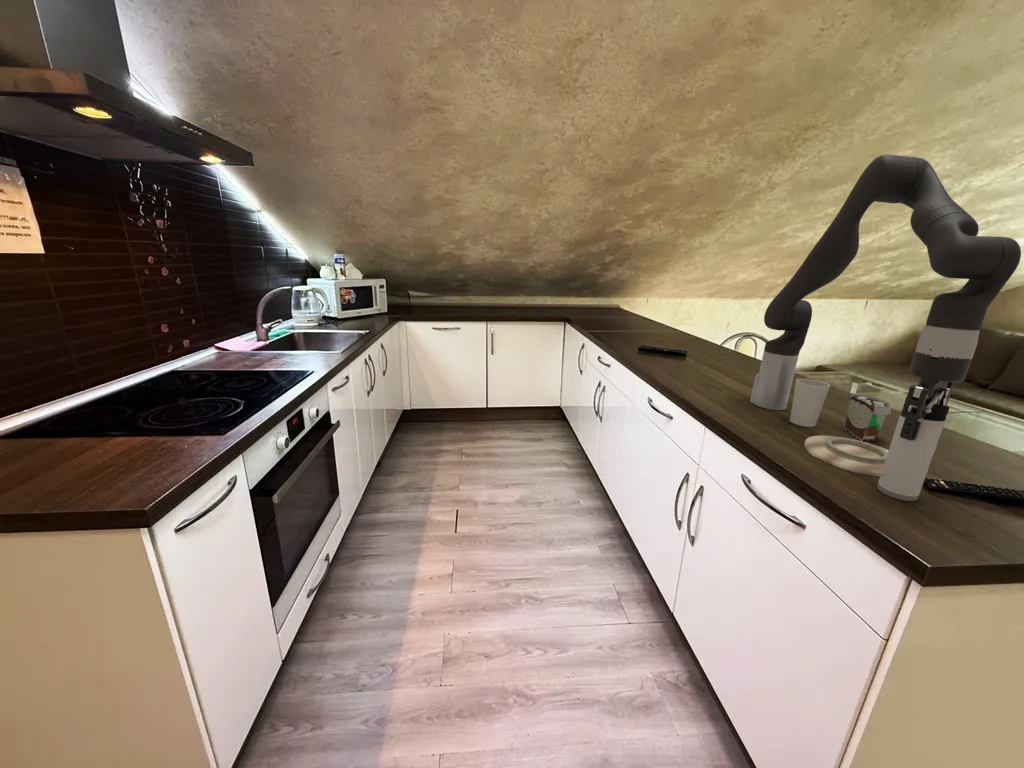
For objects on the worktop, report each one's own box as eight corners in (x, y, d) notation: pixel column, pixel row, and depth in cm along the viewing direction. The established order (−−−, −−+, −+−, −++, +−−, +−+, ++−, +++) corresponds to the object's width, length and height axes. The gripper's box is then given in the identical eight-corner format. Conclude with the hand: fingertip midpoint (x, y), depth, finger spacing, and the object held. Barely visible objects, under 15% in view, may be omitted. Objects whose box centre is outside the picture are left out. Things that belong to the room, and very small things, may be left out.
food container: (892, 446, 110) (904, 409, 107) (865, 443, 111) (876, 407, 108) (865, 428, 121) (875, 394, 118) (840, 426, 122) (850, 392, 119)
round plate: (787, 448, 106) (790, 439, 105) (828, 434, 116) (830, 426, 115) (887, 486, 89) (891, 475, 89) (924, 466, 99) (928, 456, 99)
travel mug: (867, 485, 89) (896, 393, 84) (896, 485, 90) (927, 393, 84) (895, 502, 83) (928, 404, 78) (926, 501, 84) (961, 404, 78)
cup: (821, 423, 124) (832, 383, 120) (816, 430, 118) (827, 388, 115) (789, 415, 129) (799, 377, 126) (783, 422, 123) (793, 381, 120)
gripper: (931, 345, 85) (906, 422, 90) (901, 350, 78) (876, 434, 82) (984, 353, 79) (955, 436, 83) (958, 359, 72) (927, 449, 76)
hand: (916, 435), depth 83 cm, fingers open, 8 cm apart
